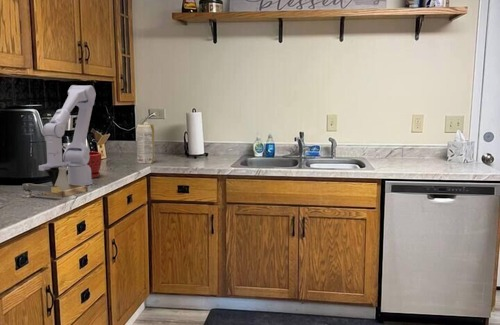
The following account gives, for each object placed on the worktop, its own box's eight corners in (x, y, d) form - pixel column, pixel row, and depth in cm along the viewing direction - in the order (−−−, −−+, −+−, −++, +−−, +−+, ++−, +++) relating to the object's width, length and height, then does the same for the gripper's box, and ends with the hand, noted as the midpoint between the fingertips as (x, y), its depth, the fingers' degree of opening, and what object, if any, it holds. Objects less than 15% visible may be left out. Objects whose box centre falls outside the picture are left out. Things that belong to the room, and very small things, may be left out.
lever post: (28, 194, 183) (28, 188, 183) (36, 195, 181) (36, 189, 181) (19, 196, 179) (18, 190, 179) (27, 197, 177) (27, 191, 177)
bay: (68, 188, 195) (68, 183, 195) (87, 191, 191) (87, 186, 191) (43, 194, 184) (43, 189, 183) (63, 197, 179) (62, 191, 179)
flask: (74, 191, 191) (75, 167, 189) (65, 194, 184) (66, 170, 182) (57, 189, 191) (58, 165, 190) (48, 192, 184) (49, 167, 183)
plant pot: (68, 179, 218) (67, 153, 217) (81, 174, 231) (80, 150, 230) (94, 180, 217) (93, 154, 215) (106, 175, 230) (105, 151, 228)
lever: (20, 189, 179) (20, 184, 178) (27, 188, 182) (27, 182, 182) (55, 193, 173) (55, 187, 173) (62, 191, 177) (61, 185, 177)
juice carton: (155, 162, 278) (155, 122, 274) (151, 164, 270) (151, 122, 266) (140, 161, 278) (139, 121, 275) (136, 163, 271) (135, 122, 267)
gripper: (61, 150, 195) (62, 182, 197) (32, 153, 182) (34, 187, 184) (73, 151, 193) (75, 183, 194) (45, 155, 179) (46, 189, 181)
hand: (55, 185), depth 189 cm, fingers closed, pressing on flask
